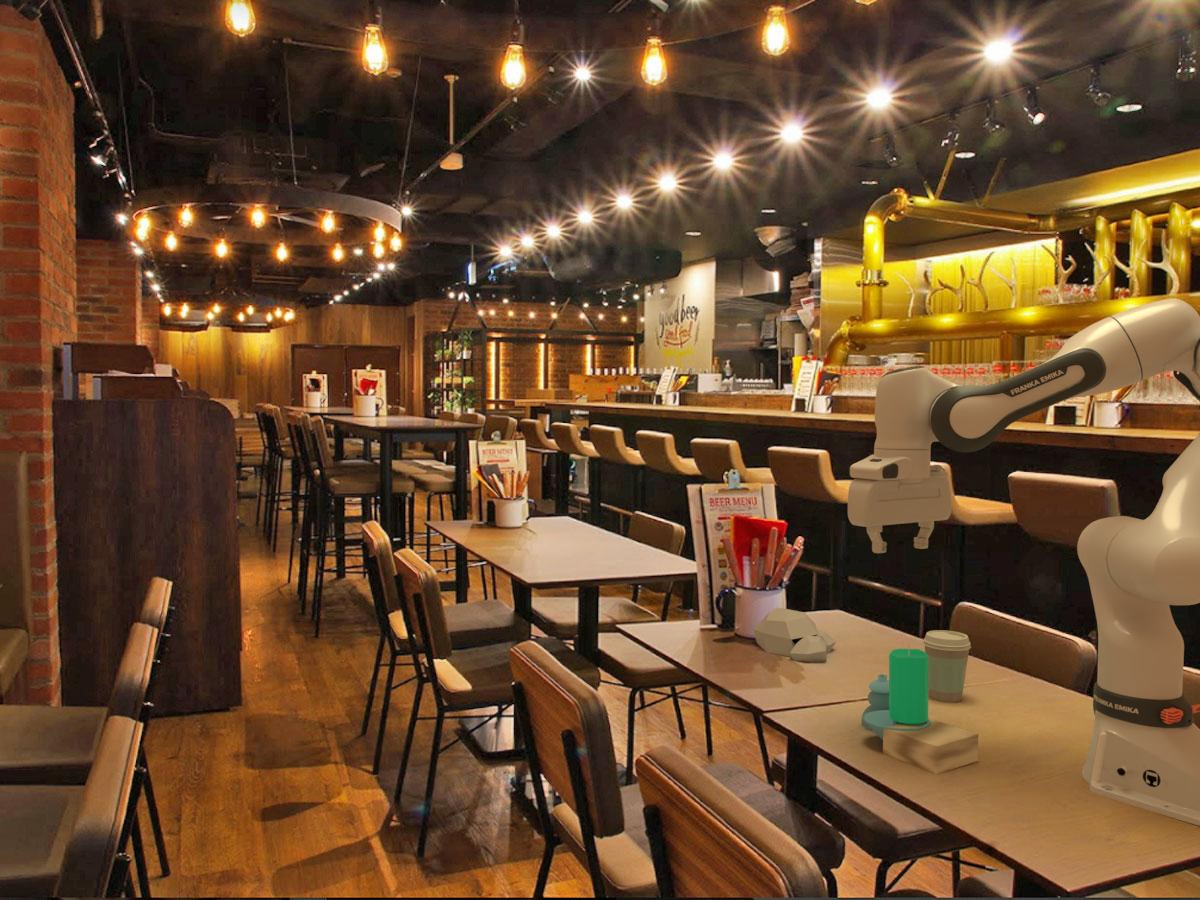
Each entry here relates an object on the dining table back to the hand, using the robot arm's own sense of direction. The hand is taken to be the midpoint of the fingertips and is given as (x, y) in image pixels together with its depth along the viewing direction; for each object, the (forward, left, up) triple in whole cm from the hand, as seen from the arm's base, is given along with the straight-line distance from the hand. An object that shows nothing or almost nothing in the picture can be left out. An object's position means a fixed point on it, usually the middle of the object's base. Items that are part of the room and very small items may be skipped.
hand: (900, 550), depth 163 cm
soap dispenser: (0, +2, -31) cm, 31 cm away
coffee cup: (+12, -25, -32) cm, 42 cm away
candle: (-5, +2, -26) cm, 27 cm away
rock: (+50, -20, -32) cm, 63 cm away
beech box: (-10, +3, -32) cm, 33 cm away
